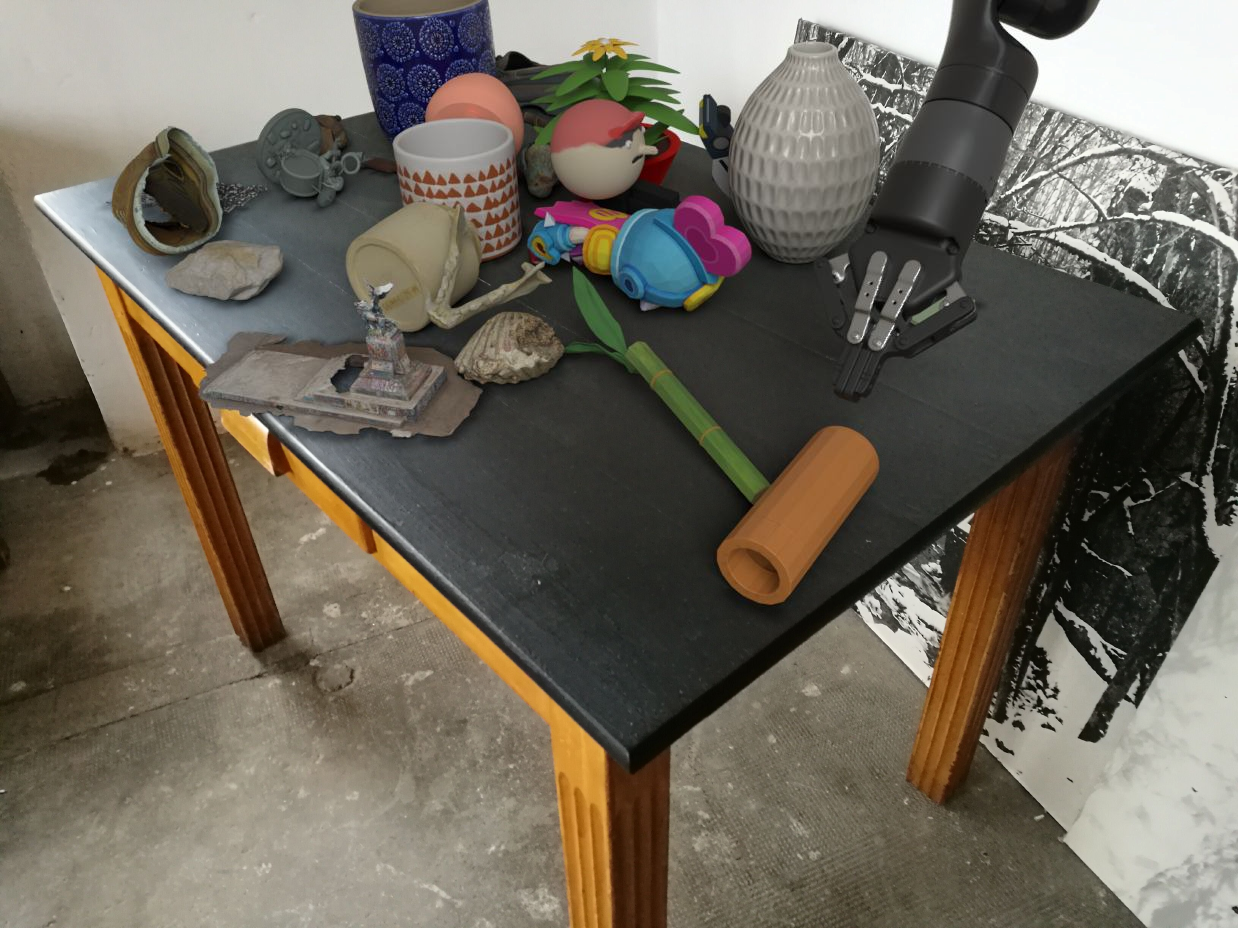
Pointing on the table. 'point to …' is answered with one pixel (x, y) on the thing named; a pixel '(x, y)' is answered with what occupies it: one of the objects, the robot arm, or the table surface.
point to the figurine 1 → (301, 156)
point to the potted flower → (620, 99)
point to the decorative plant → (665, 389)
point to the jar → (798, 515)
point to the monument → (380, 397)
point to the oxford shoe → (170, 194)
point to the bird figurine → (538, 162)
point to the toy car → (716, 138)
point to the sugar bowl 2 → (478, 103)
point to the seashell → (509, 349)
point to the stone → (227, 270)
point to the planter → (419, 53)
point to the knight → (645, 248)
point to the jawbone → (451, 317)
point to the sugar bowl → (411, 262)
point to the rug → (218, 195)
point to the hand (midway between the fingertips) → (845, 398)
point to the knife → (379, 164)
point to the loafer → (517, 76)
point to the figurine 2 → (331, 132)
